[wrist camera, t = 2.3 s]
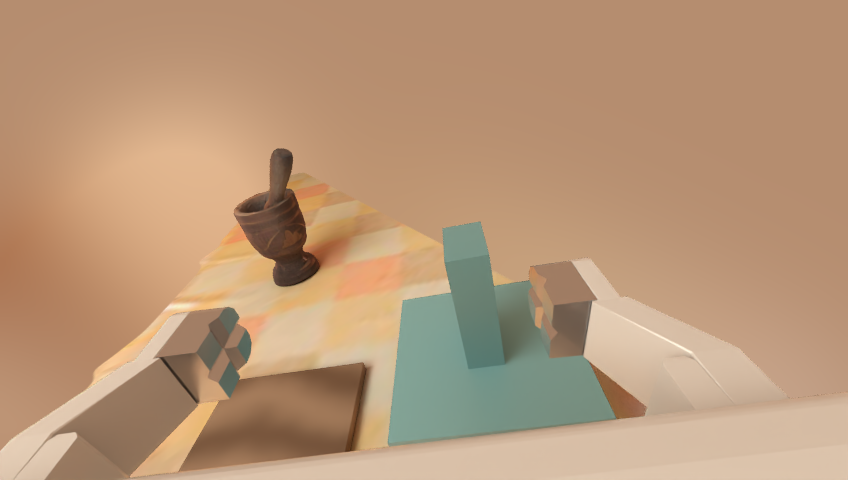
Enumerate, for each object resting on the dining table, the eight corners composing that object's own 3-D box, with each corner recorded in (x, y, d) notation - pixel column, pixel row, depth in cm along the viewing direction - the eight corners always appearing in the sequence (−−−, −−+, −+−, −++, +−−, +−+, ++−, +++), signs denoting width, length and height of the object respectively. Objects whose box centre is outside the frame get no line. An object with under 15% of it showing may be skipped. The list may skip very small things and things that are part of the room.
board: (330, 550, 24) (325, 543, 23) (136, 564, 26) (127, 558, 25) (366, 369, 37) (363, 362, 36) (235, 386, 39) (230, 380, 38)
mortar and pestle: (345, 250, 61) (301, 134, 51) (337, 279, 53) (283, 150, 43) (281, 264, 61) (225, 152, 51) (264, 295, 54) (195, 171, 44)
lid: (614, 440, 20) (628, 290, 15) (396, 463, 22) (337, 334, 17) (549, 296, 32) (543, 181, 26) (408, 318, 33) (375, 213, 28)
